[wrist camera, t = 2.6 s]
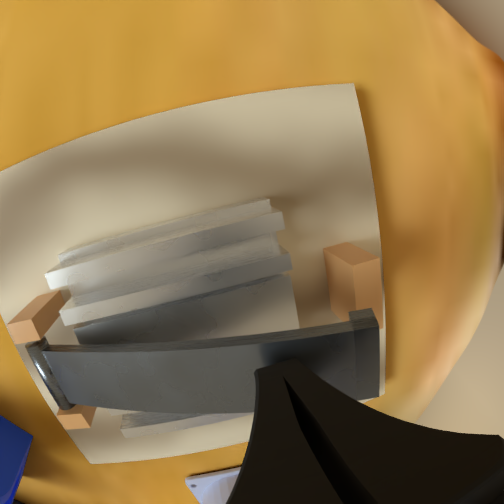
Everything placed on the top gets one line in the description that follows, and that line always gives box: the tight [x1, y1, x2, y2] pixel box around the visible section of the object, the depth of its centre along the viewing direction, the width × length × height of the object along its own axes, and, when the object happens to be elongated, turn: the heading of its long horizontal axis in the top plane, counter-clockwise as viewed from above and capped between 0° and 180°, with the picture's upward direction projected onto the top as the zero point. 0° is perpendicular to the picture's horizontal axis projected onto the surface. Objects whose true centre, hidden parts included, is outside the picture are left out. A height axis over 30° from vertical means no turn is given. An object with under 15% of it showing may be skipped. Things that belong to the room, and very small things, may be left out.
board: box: [0, 83, 386, 464], centre depth 16 cm, size 20×22×1 cm
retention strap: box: [25, 308, 380, 414], centre depth 11 cm, size 4×15×2 cm, turn 102°
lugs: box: [7, 242, 383, 430], centre depth 14 cm, size 6×17×4 cm, turn 102°
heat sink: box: [45, 197, 300, 438], centre depth 14 cm, size 10×10×3 cm
